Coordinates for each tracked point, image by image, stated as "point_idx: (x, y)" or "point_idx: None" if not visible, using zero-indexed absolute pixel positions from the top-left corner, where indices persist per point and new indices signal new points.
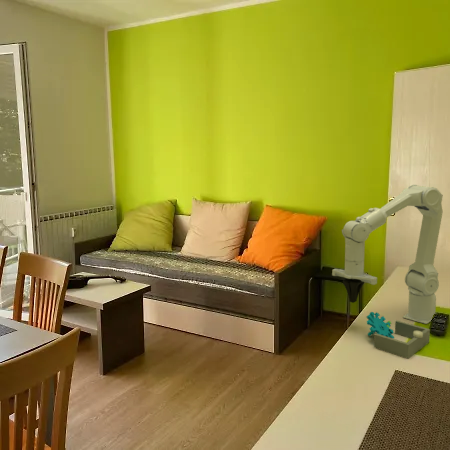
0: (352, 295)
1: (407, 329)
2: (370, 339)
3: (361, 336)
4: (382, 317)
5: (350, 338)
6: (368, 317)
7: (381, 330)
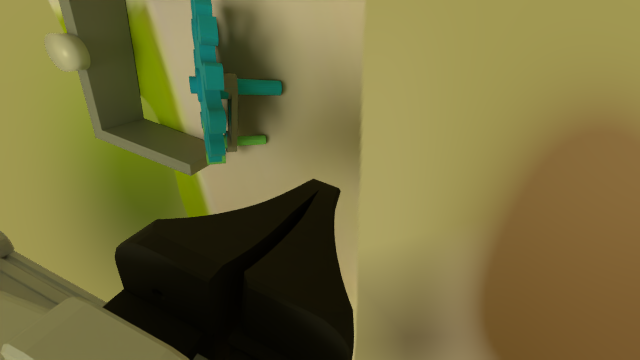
0: (290, 198)
1: (166, 143)
2: (264, 51)
3: (302, 63)
4: (208, 150)
5: (336, 10)
6: (210, 62)
7: (197, 61)
